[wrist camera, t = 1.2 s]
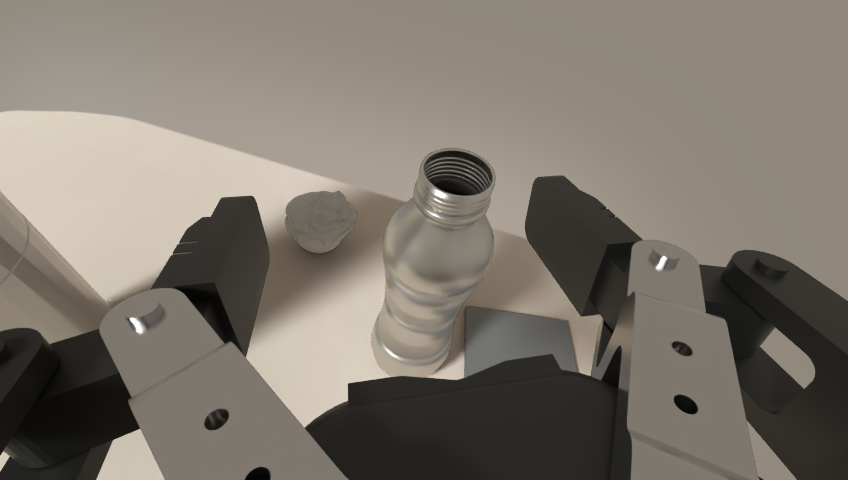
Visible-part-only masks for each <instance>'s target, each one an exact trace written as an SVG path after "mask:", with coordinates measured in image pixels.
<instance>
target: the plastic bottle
mask: <svg viewBox="0 0 848 480" xmlns="http://www.w3.org/2000/svg"><path fill="white" fill-rule="evenodd" d="M494 185H495V172H494V170H493V168H492V166H491V165H490V164H489V163H488V162H487V161H486V160H485V159H484V158H482V157H481V156H479V155H477V154H475V153H473V152H470V151H467V150H463V149H456V148H445V149H440V150H436V151H434V152H431V153H430V154H428V155H427V156H426V157H425V158H424V160H423V161H422V164H421V166H420V171H419V178H418V180H417V182H416V184H415V189H414V197H413V198H412V199H410V200H409V201H408V202H406V203H405V204H404V205H402V206H401V207H400V208H399V209H398V210H397V211H396V212H395V213H394V215H393V217H392V219H391V220H390V222H389V224H388V226H387V227H386V229H385V233H384V237H383V257H384V267H385V277H386V285H385V299H384V302H383V306H382V309H381V311H380V313H379V315H378V317H377V319H376V321H375V324H374V326H373V330H372V334H371V345H372V349H373V353H374V357H375V359H376V361H377V363H378V365H379V366H380V367H381V369H382V370H383V371H385V372H386V373H387V374H388V375H390V376H392V377H396V376H411V377H423V378H425V377H427V376H429V375H430V374H432V373H433V372H434V371H435V370H436V369H437V368H439V367H440V366H441V364H442V363H443V362H444V361H445V359H446V358H447V356H448V354H449V351H450V347H451V342H452V335H453V326H454V323H455V319H456V316H457V314H458V312H459V311H460V309H461V307H462V305H463V303H464V302H465V300H466V299H467V298H468V296H469V295H470V294H471V293H472V291H473V290H474V289H475V287H476V286H477V285H478V284H479V282H480V281H481V280H482V279H483V277H484V275H485V274H486V272H487V270H488V268H489V267H490V265H491V263H492V259H493V253H494V236H493V232H492V228H491V226H490V224H489V222H488V219H487V217H486V215H485V214H486V212H487V210H488V207H489V204H490V196H491V194H492V191H493V188H494Z"/></svg>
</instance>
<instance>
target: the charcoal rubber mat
mask: <svg viewBox="0 0 848 480" xmlns="http://www.w3.org/2000/svg"><path fill="white" fill-rule="evenodd" d="M548 354H553V356H554V357H555V359H556V361H557V363H558V365H559V366H560V368H561V370H568V371H573V372H577V367H576V362H575V356H574V351H573V346H572V340H571V335H570V330H569V325H568V321H565V320H558V319H552V318H545V317H539V316H532V315H526V314H519V313H512V312H506V311H499V310H493V309H486V308H479V307H473V306H466V308H465V369H464V378H465V377H468V376H470V375H472V374H475V373H477V372H480V371H482V370H484V369H487V368H489V367H491V366H494V365H496V364H499V363H501V362H503V361H506V360H513V359H520V358H527V357H534V356H541V355H548Z"/></svg>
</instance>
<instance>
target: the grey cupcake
mask: <svg viewBox="0 0 848 480" xmlns="http://www.w3.org/2000/svg"><path fill="white" fill-rule="evenodd" d="M286 215H287V216H286V218H285V225H286V229H287V231H288V232H289V234H290V235H291V236H292V237H293V239H294V240H296V241H297V243H298V244H299V245H300V246H301V247H302V248H304V249H305V250H307V251H310V252H313V253H324V252H328V251H330V250H332V249H334V248H335V247H337V246H338V245H339V243H340V242H341V241H342V239H343V237H344V236H345V235H347V234H348V233H349V232H350V231H351V230H352V228H353V227H354V223H355V218H356V216H357V213H356V211H355V210H354V209H353V206H352V205H351V204H350V203H348V202H347V200H346V197H345V196H344V194H342V193H341V192H339V191H337V192H334V193H333V192H327V191H320V192H311V193H306V194H303V195H300V196H297V197H295V198H294V199H292V200H291V201H290V202H289V203H288V204H287V206H286Z"/></svg>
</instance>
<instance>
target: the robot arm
mask: <svg viewBox="0 0 848 480" xmlns="http://www.w3.org/2000/svg"><path fill="white" fill-rule="evenodd" d="M525 232H526V236H527V239H528V241H529V243H530V244H531V246H532V247H533V248H534V250H535V251H536V253H537V254H538V256H539V257H540V258H541V260H542V261H543V263H544V264H545V266H546V267H547V268H548V270H549V271H550V273H551V274H552V276H553V277H554V278H555V280H556V281H557V283H558V284H559V286H560V287H561V289H562V290H563V291H564V293H565V294H566V296H567V297H568V299H569V300H570V301H571V303H572V304H573V306H574V307H575V309H576V310H577V311H578V313H579V314H580V316H581V317H582V316H590V315H598V314H600V315H601V316H602V321H601V323H600V326H599V330H598V335H597V341H596V347H595V353H594V359H593V365H592V371H591V376H588V375H584V374H581V373H578V372H573V371H568V370H561V368H560V366H559V365H558V363H557V361H556V359H555V357H554V356H553V354H548V355H541V356H534V357H527V358H520V359H513V360H506V361H503V362H501V363H499V364H496V365H494V366H491V367H489V368H487V369H484V370H482V371H480V372H477V373H475V374H472V375H470V376H468V377H465V378H463V379H459V380H447V379H435V378H423V377H411V376H396V377H389V378H382V379H376V380H369V381H362V382H355V383H348V401H346V402H344V403H342V404H339V405H337V406H335V407H333V408H332V409H330V410H328V411H326V412H325V413H323V414H322V415H320V416H319V417H317V418H316V419H314V420H313V421H312V422H311V423H310V424H309V425H307V426H306V427H305V428H304V427H303V426H302V425H301V423H300V422H299V421H298V420H297V419H296V417H295V416H294V415H293V414H292V413H291V411H290V410H289V409H288V408H287V407H286V405H285V404H284V403H283V402H282V401H281V399H280V398H279V397H278V396H277V395H276V394H275V392H274V391H273V390H272V389H271V388H270V386H269V385H268V384H267V383H266V382H265V380H264V379H263V378H262V377H261V376H260V374H259V373H258V372H257V371H256V370H255V368H254V367H253V366H252V365H251V364H250V362H249V361H248V360H247V359H246V355H247V351H248V347H249V343H250V339H251V335H252V331H253V327H254V323H255V319H256V315H257V311H258V307H259V303H260V299H261V294H262V290H263V286H264V282H265V278H266V274H267V270H268V266H269V248H268V243H267V239H266V235H265V232H264V228H263V224H262V221H261V217H260V213H259V210H258V206H257V203H256V200H255V198H254V197H253V196H239V197H224V198H221V199H220V201H219V203H218V205H217V206H216V208H215V210H214V212H213V214H212V216H211V217H202V218H201V219H200V220H198V221H197V222H196V223H194V224H193V225H192V226H190V227H189V228H188V229H187V230H186V232H185V233H184V235H183V237H182V238H181V240H180V242H179V243H180V244H178V245H177V247H176V248H175V250H174V251H173V255H171V256H170V258H169V260H168V261H167V263H166V265H165V266H164V268H163V270H162V271H161V273H160V275H159V276H158V278H157V280H156V281H155V283H154V285H153V286H152V288H151V290H148V291H144V292H141V293H138V294H136V295H133V296H131V297H129V298H127V299H125V300H124V301H122V302H120V303H119V304H118V305H116V306H115V307H113V308H111V307H110V306H109V305H108V304H107V302H106V301H105V300H104V299H103V298H102V297H101V296H100V295H99V294H98V293H97V292H96V291H95V290H94V289H93V288H92V287H91V286H90V285H89V284H88V283H87V281H86V280H85V279H84V278H83V277H82V276H81V275H80V274H79V273H78V272H77V271H76V270H75V269H74V268H73V267H72V266H71V265H70V264H69V263H68V262H67V260H66V259H65V258H64V257H63V256H62V255H61V254H60V253H59V252H58V251H57V250H56V249H55V248H54V247H53V246H52V245H51V244H50V243H49V242H48V241H47V239H46V238H45V237H44V236H43V235H42V234H41V233H40V232H39V231H38V230H37V229H36V228H35V227H34V226H33V225H32V224H31V223H30V222H29V221H28V220H27V218H26V217H25V216H24V215H23V214H22V213H20V212H19V211H18V209H17V208H16V207H15V206H14V205H13V204H12V203H11V202H10V201H9V200H8V199H7V198H6V197H5V196H4V195H3V194H2V193H1V192H0V455H1V454H2V452H3V451H4V452H5V453H7V454H8V455H9V456H10V457H9V459H8V460H7V462H6V464H5V465H4V467H3V468H2V470H1V472H0V480H96V479H97V476H98V474H99V472H100V469H101V467H102V465H103V462H104V460H105V457H106V455H107V453H108V450H109V448H110V446H111V443H112V441H113V440H114V439H116V438H119V437H121V436H123V435H126V434H128V433H131V432H133V431H136V430H138V429H141V431H142V433H143V435H144V437H145V439H146V441H147V443H148V445H149V447H150V450H151V452H152V454H153V456H154V458H155V460H156V462H157V464H158V466H159V468H160V470H161V472H162V474H163V477H164V479H165V480H763V479H762V478H760V477H758V475H757V471H756V466H755V461H754V456H753V451H752V446H751V441H750V436H749V431H748V426H747V421H748V422H749V423H750V424H751V426H752V427H753V428H754V429H755V430H756V431H757V433H758V434H759V435H760V436H761V437H762V439H763V440H764V441H765V442H766V443H767V444H768V446H769V447H770V448H771V449H772V450H773V452H774V453H775V454H776V455H777V456H778V457H779V459H780V460H781V461H782V462H783V463H784V465H785V466H786V467H787V468H788V469H789V470H790V472H791V473H792V474H793V475H794V476H795V478H796V479H797V480H848V301H847V300H845V299H844V298H842V297H841V296H840V295H838V294H836V293H835V292H834V291H832V290H831V289H829V288H828V287H826V286H825V285H823V284H822V283H820V282H819V281H817V280H816V279H815V278H813V277H812V276H810V275H809V274H807V273H806V272H804V271H803V270H801V269H800V268H799V267H797V266H795V265H794V264H792V263H790V262H789V261H787V260H785V259H782V258H780V257H777V256H775V255H772V254H769V253H765V252H760V251H754V250H743V251H738V252H736V253H735V254H734V255H733V256H732V258H731V260H730V261H729V263H728V265H727V266H726V267H717V266H708V265H699V264H698V262H697V260H696V259H695V258H694V257H693V256H692V255H691V254H690V253H688V252H687V251H685V250H684V249H682V248H680V247H678V246H676V245H673V244H670V243H667V242H663V241H658V240H642V239H641V238H640V237H639V236H638V235H637V234H636V233H635V232H633V231H632V230H631V229H630V228H629V227H628V226H627V225H626V224H624V223H623V222H622V221H621V220H620V219H619V218H617V217H615V215H614V214H613V213H612V212H611V211H610V210H609V209H606V207H605V206H604V205H603V204H602V203H601V202H600V201H598V200H597V199H596V198H594V197H593V196H591V195H589V194H586V193H585V192H582V191H580V190H579V189H578V188H577V187H576V186H575V185H573V184H572V183H571V182H570V181H569V180H568V179H567V178H566V177H564V176H547V177H538V178H536V179H535V181H534V183H533V187H532V191H531V197H530V201H529V206H528V211H527V216H526V221H525ZM775 327H776V328H777V329H778V330H779V331H780V332H782V333H783V334H784V335H785V336H786V337H787V338H788V339H789V340H791V341H792V342H793V343H794V344H795V345H796V346H798V347H799V348H800V349H801V350H802V351H803V352H804V353H806V354H807V355H808V356H809V358H810V359H811V361H812V362H813V364H814V367H815V377H814V380H813V381H812V382H811V383H810V384H809V385H808V386H807V387H806V388H805V389H803V388H802V387H801V386H800V385H799V384H798V383H797V382H796V381H795V380H794V379H793V378H792V377H791V376H790V375H789V374H788V373H787V372H786V371H785V370H783V369H782V368H781V367H780V366H779V365H778V364H777V363H776V362H775V361H774V360H773V359H772V358H771V357H770V356H769V355H768V354H767V353H766V352H765V351H764V350H763V349H762V348H761V347H760V345H761V344H762V343H763V341H764V340H765V339H766V338H767V337H768V336H769V334H770V333H771V332H772V331H773V329H774V328H775ZM746 420H747V421H746Z"/></svg>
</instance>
